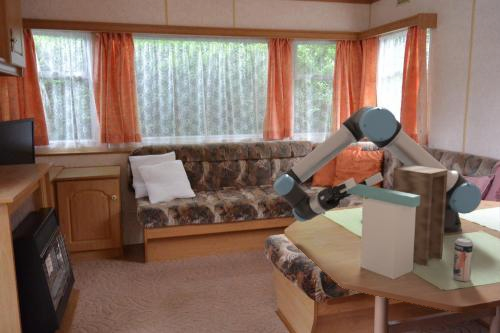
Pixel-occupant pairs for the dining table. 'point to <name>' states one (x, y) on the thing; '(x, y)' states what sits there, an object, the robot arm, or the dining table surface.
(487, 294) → the dining table surface
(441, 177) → the tall wooden grooved block
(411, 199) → the bar
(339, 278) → the dining table surface
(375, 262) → the pillar
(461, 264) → the beer can
